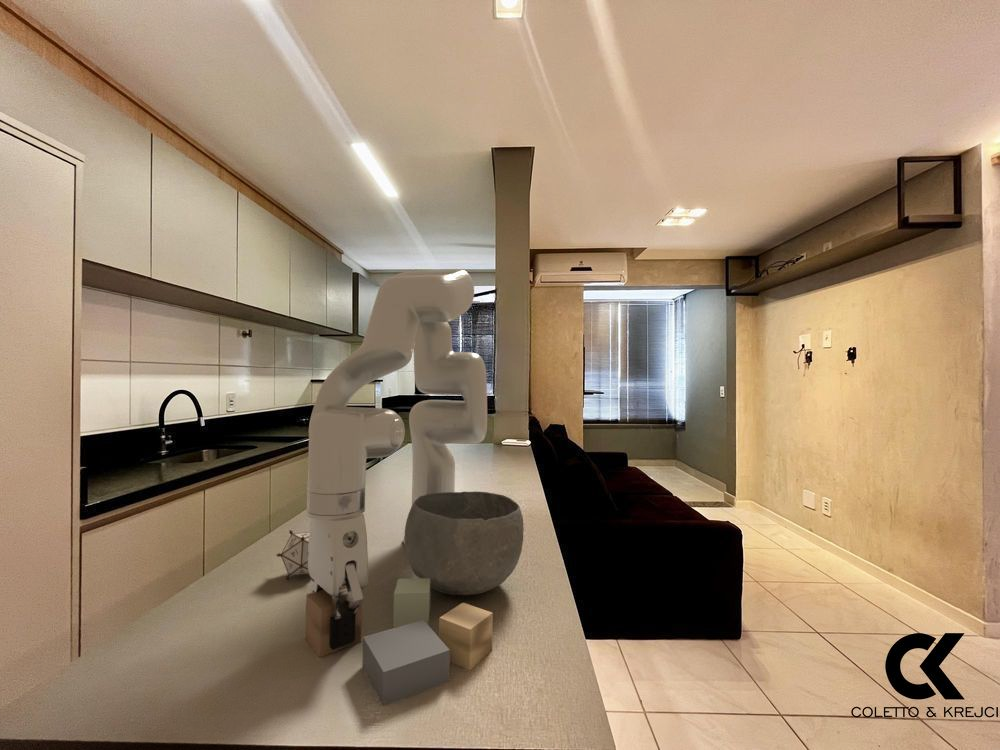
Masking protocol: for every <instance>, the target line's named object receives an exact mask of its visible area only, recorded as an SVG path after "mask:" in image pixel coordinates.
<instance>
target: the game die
mask: <svg viewBox="0 0 1000 750" xmlns="http://www.w3.org/2000/svg"><path fill="white" fill-rule="evenodd" d="M288 532H289V534H290V536H289V537H288V539H287V542H286V544H285V546H284V548H283V550H282V551H281V553H280V552H279V553H277V554H276V555H275V556H276V557H278V558H279V557H280V558H281V559H282V562H283V565H284V567H285V570H286V572H287V575H286V577H285V580H286V581H287V580H289V579H290V577H292V576H299V575H310V574H309V572H308V543H309V532H297V533H296V532H295V533H293V531H292V530H291V529H289V531H288Z"/></svg>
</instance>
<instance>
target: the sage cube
mask: <svg viewBox="0 0 1000 750" xmlns="http://www.w3.org/2000/svg"><path fill="white" fill-rule="evenodd" d="M430 582H431V579H430V578H419V577H415V578H413V577H412V578H398V579H397V582H396V586H395V588H394V592H393V616H392V620H393V622H392V629H393V628H396V627H400V626H403V625H407V624H410V623H414V622H417V621H421V620H424V621H425V622H426V623H427V625H428V626H429V621H430V612H431V587H430Z"/></svg>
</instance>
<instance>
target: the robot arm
mask: <svg viewBox="0 0 1000 750" xmlns="http://www.w3.org/2000/svg"><path fill="white" fill-rule="evenodd" d="M474 297H475V286H474V282H473V278H472V277H471V275H470V274H469V273H468V272H467V271H466V270H463V269H439V270H438V269H437V270H434V269H433V270H431V269H429V270H426V269H425V270H409V271H403V272H400V273H397V274H396V275H394V276H392V277H389V278H387V279H385V280H384V281H383V282H382V283H381V285H380V286H379V288H378V291H377V294H376V297H375V300H374V304H373V306H372V307H373V308H372V310H371V313H370V317H369V320H368V323H367V328H366V330H365V334H364V337H363V341H362V342H361V343H362V344H361V345H360V346H359V347H358V348H357V349H356V350H354V351H352V353H350V354H349V355H348V356H347V357H345V359H343V360H342V361H341V362H340V363H339V364H338V365H337V366H336V367H335V368H334V369H333V370H332V371H331V372H330V373H329V374H328V375H327V377H326V378H325V379H324V381H323V382H322V384H321V386H320V389H319V390H318V393H317V396H316V400H315V402H314V406H313V408H312V412H311V415H310V419H309V425H308V455H307V456H308V459H307V463H308V464H307V465H308V466H307V494H306V497H307V498H306V516H307V517H309V518H310V522H309V543H308V572H309V574H308V575H309V576H310V578H311V581H312V582H313V585H312V586H313V587H312V591H311V593H314V592H317V591H320V590H325V591H326V592H327V593H329V594H330V595H332V605H333V615H334V617H331V618H330V648H331V649H332V650H334V649H336V648H339V647H342V646H344V645H347V644H350V643H352V642H354V640H355V619H356V613H357V607H358V605H359V604H360V603H361V602H362V603H363V600H364V595H363V593H362V589H365V588H366V587H367V585H368V583H369V582H368V581H369V560H368V559H369V556H368V555H369V554H368V553H369V552H368V538H367V528H366V519H365V514H364V513H365V511H366V484H367V483H366V482H367V480H366V478H367V477H366V476H367V473H366V472H367V459H374V458H376V459H377V458H379V459H381V458H386V457H388V456H389V457H390V456H392V455H393V454H394V453H396V452H397V451H398V450H399V449H400V448H401V446H402V444H403V442H404V439H405V434H406V428H405V427H406V426H405V422H404V421H403V418H402V417H401V416H400V415H399V414H398V413H397V412H396V411H394V410H392V409H389V408H382V407H380V408H379V407H359V406H358V407H357V406H355V407H354V406H348V404H349V401H350V400H351V399H352V397H353V396H354V394H356V393H357V392H359V390H360V389H362V388H364V386H366V385H368V384H370V383H371V382H374V381H375V380H378V379H380V378H383V377H385V376H387V375H390V374H392V373H394V372H397V371H399V370H401V369H403V368H404V367H406V366H408V364H409V363H410V362H411V360H412V357H413V370H414V371H413V372H414V375H413V376H414V382H415V387H416V389H417V390H418V391H419V392H421V393H422V394H426V395H435V396H437V395H441V396H444V395H445V396H461V397H462V399H463V400H451V399H427V400H421V401H419V402H417V403H416V404H414V405H413V406H412V408H411V409H410V412H409V415H408V422H409V425H408V426H409V432H410V438H411V446H412V447H411V449H412V450H411V451H412V468H411V469H412V475H411V477H412V479H411V506H412V505H413V503H414V501H415V500H416V499H417V498H419V497H420V496H424V495H426V494H432V493H443V492H456V490H455V488H456V487H455V486H456V485H455V484H456V463H455V462H456V461H455V458H454V456H453V454H452V452H451V450H450V449H449V447H448V446H447V445H446V444H456V445H457V444H459V445H460V444H462V445H463V444H464V445H475V444H480V443H481V442H483V441H484V440H485V438H486V436H487V432H488V431H487V430H488V391H487V390H488V387H487V386H488V384H487V381H488V380H487V369H486V364H485V361H484V359H483V357H482V356H481V355H480V354H477V353H475V352H471V351H455V350H454V349H453V337H452V335H453V334H452V333H453V331H452V327H451V326H450V323H449V322H452V321H454V320H456V319H458V318H459V317H461V316H462V315H464V314H466V312H467V311H468V310H469V309H470V308H471V306H472V304H473V301H474ZM404 537H405V535H403V538H404ZM403 544H404V545H405V541H404V540H403ZM343 585H346V587H347V589H344V590H341V591H339V587H341V586H343ZM347 594H348V598H347V600H346V601H343V603H342V604H341V606H340V600H339V597H341V596H344V595H347Z"/></svg>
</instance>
